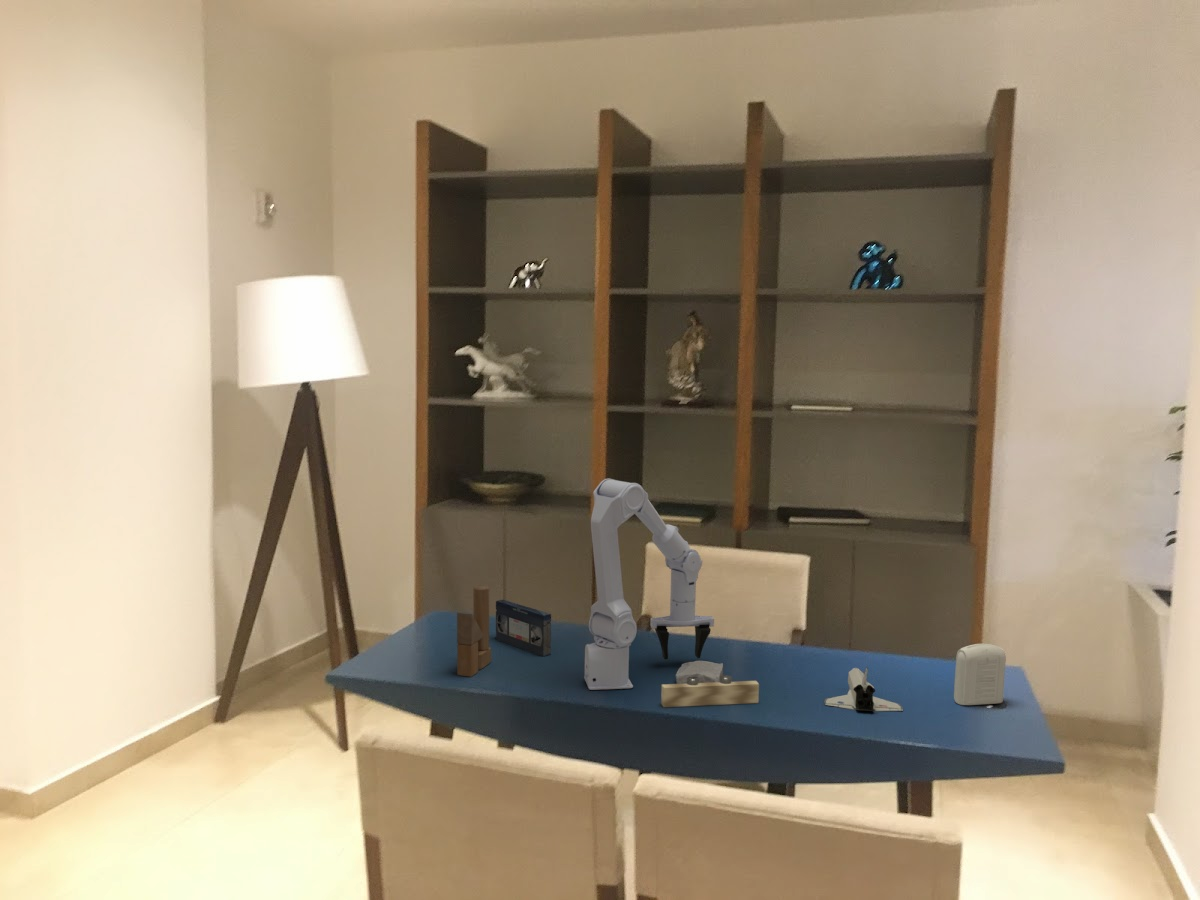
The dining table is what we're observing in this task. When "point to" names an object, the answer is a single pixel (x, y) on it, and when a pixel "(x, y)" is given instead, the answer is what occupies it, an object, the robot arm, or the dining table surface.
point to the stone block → (700, 672)
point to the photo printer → (979, 675)
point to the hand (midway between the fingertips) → (681, 657)
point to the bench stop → (709, 692)
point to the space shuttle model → (861, 695)
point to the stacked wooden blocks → (474, 635)
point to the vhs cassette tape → (523, 627)
